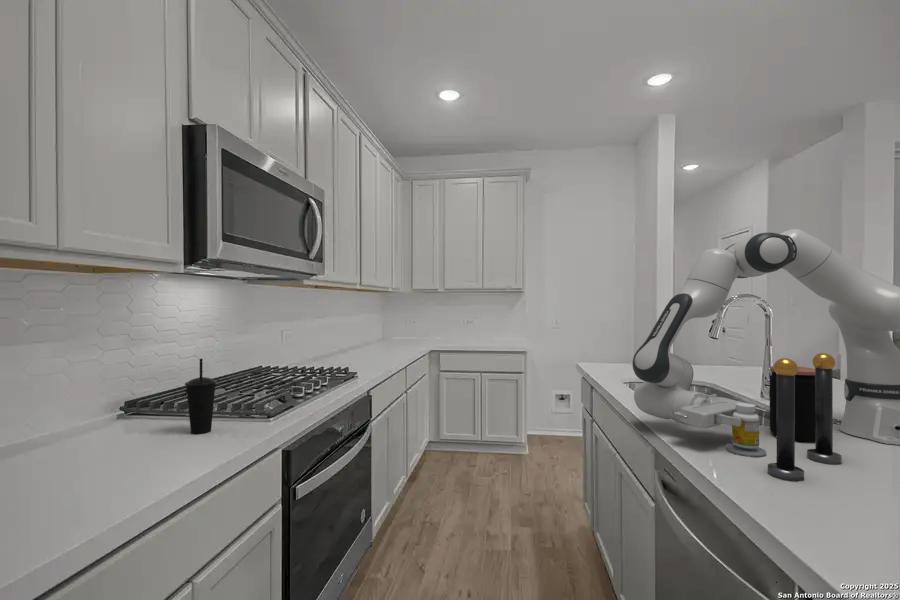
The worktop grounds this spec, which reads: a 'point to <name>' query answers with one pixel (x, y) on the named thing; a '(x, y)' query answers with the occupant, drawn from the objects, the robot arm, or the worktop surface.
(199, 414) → the drinking cup
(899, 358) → the robot arm
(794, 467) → the post
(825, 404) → the post
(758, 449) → the slate mat
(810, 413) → the coffee jar
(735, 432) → the supplement bottle
